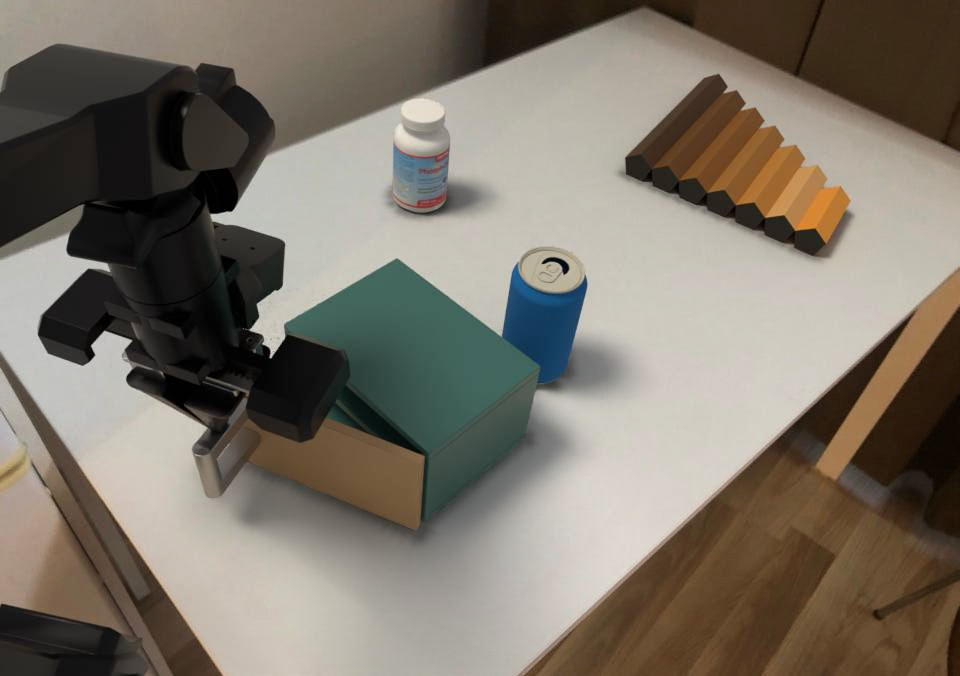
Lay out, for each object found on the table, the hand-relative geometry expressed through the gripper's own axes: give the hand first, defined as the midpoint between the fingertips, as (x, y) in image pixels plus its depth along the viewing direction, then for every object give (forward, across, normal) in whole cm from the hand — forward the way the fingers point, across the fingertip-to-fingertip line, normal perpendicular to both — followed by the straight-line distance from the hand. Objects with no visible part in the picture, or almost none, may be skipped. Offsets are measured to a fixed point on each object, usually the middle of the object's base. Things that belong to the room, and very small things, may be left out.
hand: (219, 425), depth 56 cm
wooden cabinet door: (+9, -6, 0) cm, 11 cm away
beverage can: (+10, -18, -22) cm, 30 cm away
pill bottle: (+11, +2, -41) cm, 42 cm away
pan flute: (+13, -34, -65) cm, 75 cm away
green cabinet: (+10, -9, -12) cm, 18 cm away
